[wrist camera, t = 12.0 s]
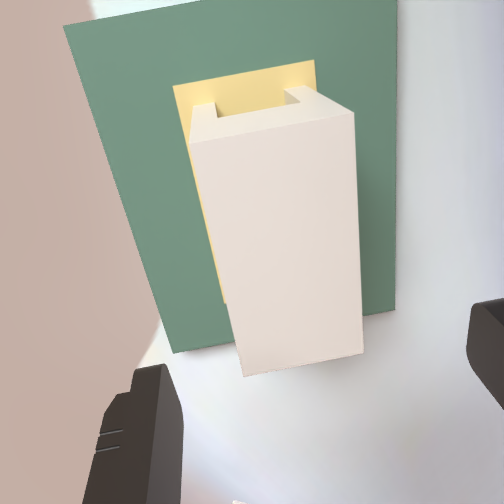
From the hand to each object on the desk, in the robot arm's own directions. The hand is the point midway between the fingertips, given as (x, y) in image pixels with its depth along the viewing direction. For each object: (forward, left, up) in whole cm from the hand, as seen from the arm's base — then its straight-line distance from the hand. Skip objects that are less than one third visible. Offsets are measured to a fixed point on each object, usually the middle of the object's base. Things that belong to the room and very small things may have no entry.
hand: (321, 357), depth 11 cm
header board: (0, 0, -14) cm, 14 cm away
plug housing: (0, 0, -12) cm, 12 cm away
